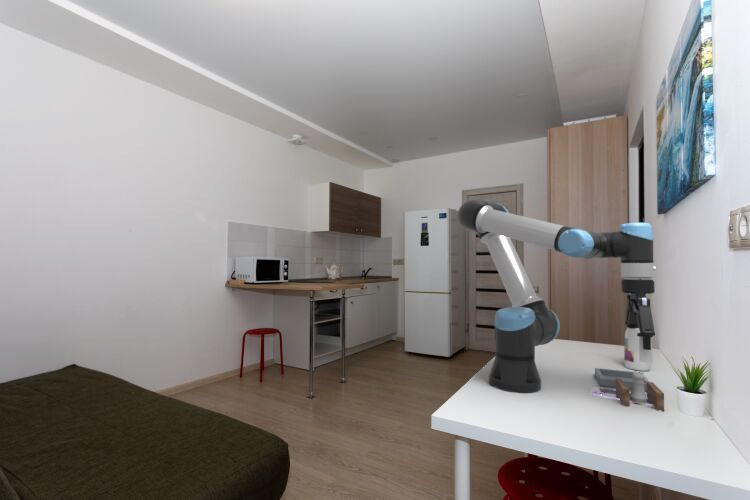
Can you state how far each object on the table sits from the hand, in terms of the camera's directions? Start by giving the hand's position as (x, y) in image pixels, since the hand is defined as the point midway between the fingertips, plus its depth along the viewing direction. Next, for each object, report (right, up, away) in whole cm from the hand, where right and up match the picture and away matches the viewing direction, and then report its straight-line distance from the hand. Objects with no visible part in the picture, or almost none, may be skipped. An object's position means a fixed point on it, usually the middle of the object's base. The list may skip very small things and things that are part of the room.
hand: (639, 356), depth 103 cm
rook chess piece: (0, -13, 0) cm, 13 cm away
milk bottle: (+23, -14, +33) cm, 43 cm away
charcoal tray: (+5, -13, +16) cm, 21 cm away
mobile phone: (-2, -13, +4) cm, 14 cm away
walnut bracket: (0, -13, 0) cm, 13 cm away
